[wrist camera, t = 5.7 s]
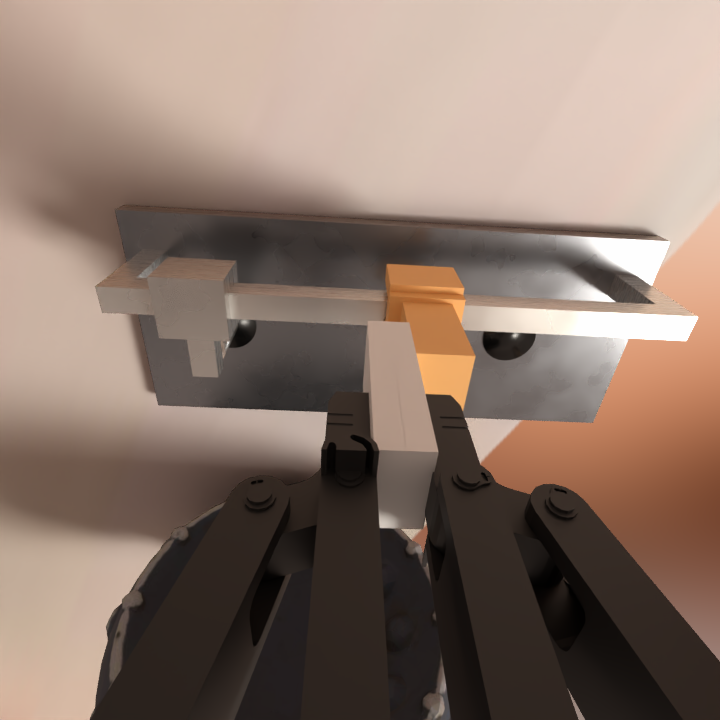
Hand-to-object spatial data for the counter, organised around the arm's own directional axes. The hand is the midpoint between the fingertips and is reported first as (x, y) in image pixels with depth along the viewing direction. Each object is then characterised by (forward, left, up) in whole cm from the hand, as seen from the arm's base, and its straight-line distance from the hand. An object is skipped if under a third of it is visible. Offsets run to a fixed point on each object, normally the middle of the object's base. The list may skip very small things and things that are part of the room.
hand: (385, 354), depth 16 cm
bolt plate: (+1, -4, -10) cm, 10 cm away
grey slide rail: (+1, -1, -10) cm, 10 cm away
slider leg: (+2, -1, -8) cm, 9 cm away
